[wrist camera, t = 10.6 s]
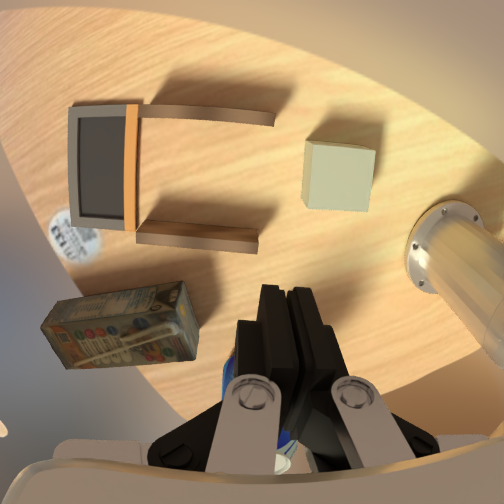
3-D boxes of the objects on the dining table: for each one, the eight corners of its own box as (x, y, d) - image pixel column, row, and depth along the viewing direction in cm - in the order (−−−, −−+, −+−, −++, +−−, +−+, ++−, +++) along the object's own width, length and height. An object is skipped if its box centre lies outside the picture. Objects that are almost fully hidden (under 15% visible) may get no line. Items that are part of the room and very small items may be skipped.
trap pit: (139, 104, 28) (138, 104, 28) (136, 229, 34) (135, 231, 33) (71, 106, 28) (68, 107, 27) (73, 224, 33) (71, 226, 33)
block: (361, 145, 31) (375, 150, 27) (354, 200, 34) (367, 212, 30) (304, 139, 31) (313, 144, 27) (300, 197, 33) (307, 209, 30)
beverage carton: (203, 331, 40) (197, 367, 34) (79, 343, 41) (63, 374, 35) (185, 277, 37) (175, 311, 31) (56, 298, 38) (34, 327, 32)
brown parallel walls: (271, 112, 29) (275, 113, 26) (255, 240, 35) (257, 254, 32) (149, 104, 28) (138, 104, 25) (145, 230, 34) (136, 243, 31)
